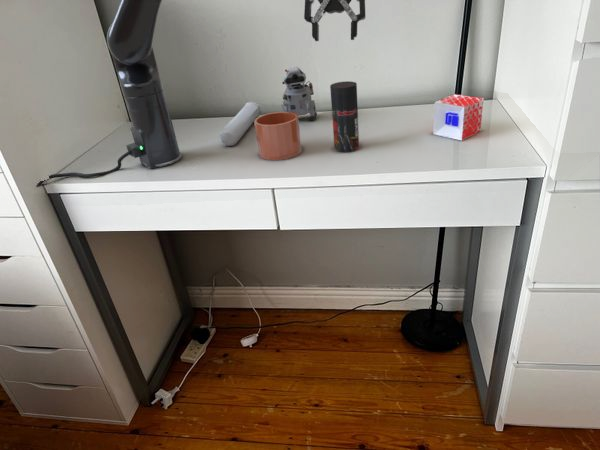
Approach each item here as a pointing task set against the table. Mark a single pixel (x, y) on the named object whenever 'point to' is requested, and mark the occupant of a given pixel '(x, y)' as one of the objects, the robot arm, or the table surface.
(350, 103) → the deodorant
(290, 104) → the figurine
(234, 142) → the tube
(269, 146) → the cup
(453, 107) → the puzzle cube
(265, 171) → the table surface
